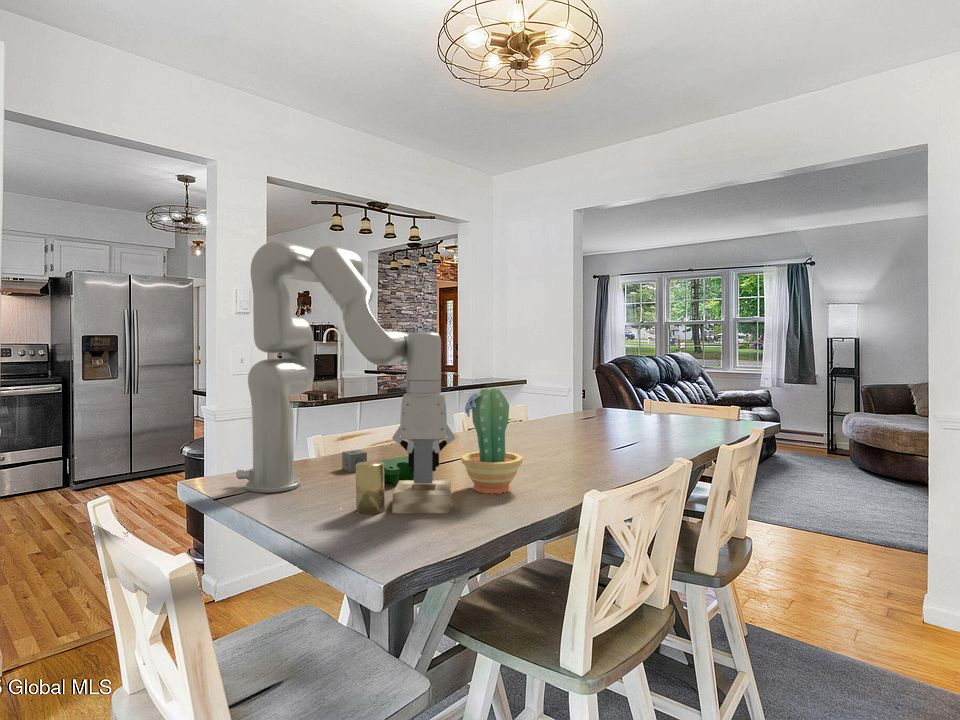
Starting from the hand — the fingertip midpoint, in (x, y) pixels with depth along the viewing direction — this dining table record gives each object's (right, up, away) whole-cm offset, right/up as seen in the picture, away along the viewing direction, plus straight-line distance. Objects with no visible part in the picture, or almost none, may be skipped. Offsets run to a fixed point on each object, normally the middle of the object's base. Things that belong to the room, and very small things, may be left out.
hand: (423, 469), depth 128 cm
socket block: (0, -8, 0) cm, 8 cm away
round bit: (-11, -8, -4) cm, 14 cm away
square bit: (0, -3, 0) cm, 3 cm away
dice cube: (-23, -7, +34) cm, 42 cm away
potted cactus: (+15, -8, +15) cm, 23 cm away
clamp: (-8, -8, +21) cm, 24 cm away
